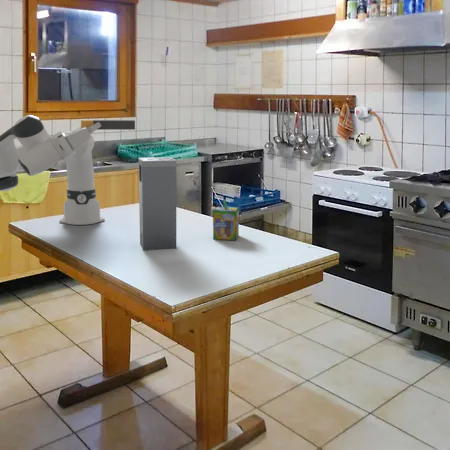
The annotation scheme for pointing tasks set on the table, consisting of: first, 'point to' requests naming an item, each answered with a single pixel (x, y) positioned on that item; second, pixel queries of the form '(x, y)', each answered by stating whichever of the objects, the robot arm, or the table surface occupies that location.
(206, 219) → the table surface
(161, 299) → the table surface
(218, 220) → the chalk box
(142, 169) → the housing
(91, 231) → the table surface
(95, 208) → the robot arm
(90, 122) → the plug rod
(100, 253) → the table surface
